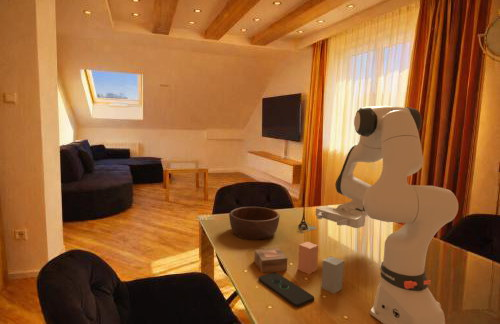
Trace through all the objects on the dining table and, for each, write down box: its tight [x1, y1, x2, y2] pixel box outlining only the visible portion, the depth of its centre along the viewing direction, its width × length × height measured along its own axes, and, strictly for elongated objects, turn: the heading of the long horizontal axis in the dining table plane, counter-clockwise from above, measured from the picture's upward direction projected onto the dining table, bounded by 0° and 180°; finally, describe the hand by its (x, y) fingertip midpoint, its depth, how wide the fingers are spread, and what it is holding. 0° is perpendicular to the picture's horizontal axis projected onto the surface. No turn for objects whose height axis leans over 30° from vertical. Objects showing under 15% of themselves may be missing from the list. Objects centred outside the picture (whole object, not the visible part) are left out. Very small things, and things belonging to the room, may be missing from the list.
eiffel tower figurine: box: [297, 205, 317, 234], centre depth 169 cm, size 15×10×13 cm
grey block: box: [320, 256, 345, 294], centre depth 108 cm, size 5×5×10 cm
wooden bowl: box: [228, 206, 280, 241], centre depth 159 cm, size 25×25×10 cm
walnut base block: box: [253, 247, 288, 273], centre depth 125 cm, size 10×10×5 cm
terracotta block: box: [297, 241, 319, 275], centre depth 121 cm, size 5×5×10 cm
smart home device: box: [258, 271, 315, 309], centre depth 107 cm, size 8×2×20 cm
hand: (328, 220), depth 128 cm, fingers open, 8 cm apart
